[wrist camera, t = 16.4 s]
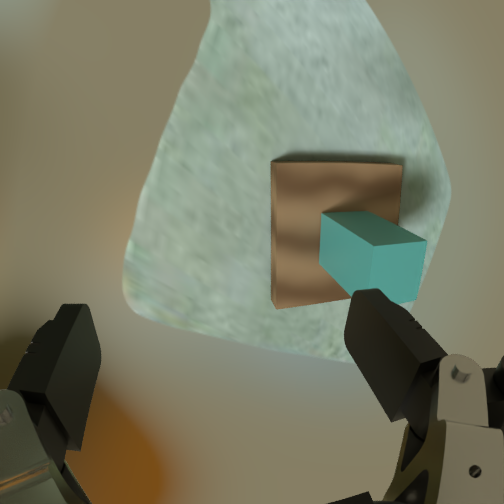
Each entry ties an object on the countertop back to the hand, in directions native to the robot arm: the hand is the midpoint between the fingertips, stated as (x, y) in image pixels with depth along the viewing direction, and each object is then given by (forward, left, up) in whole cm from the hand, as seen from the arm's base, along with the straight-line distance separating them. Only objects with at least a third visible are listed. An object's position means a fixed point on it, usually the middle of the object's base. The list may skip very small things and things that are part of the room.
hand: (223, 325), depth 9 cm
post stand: (+6, +16, -27) cm, 32 cm away
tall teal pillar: (+6, +16, -24) cm, 30 cm away
